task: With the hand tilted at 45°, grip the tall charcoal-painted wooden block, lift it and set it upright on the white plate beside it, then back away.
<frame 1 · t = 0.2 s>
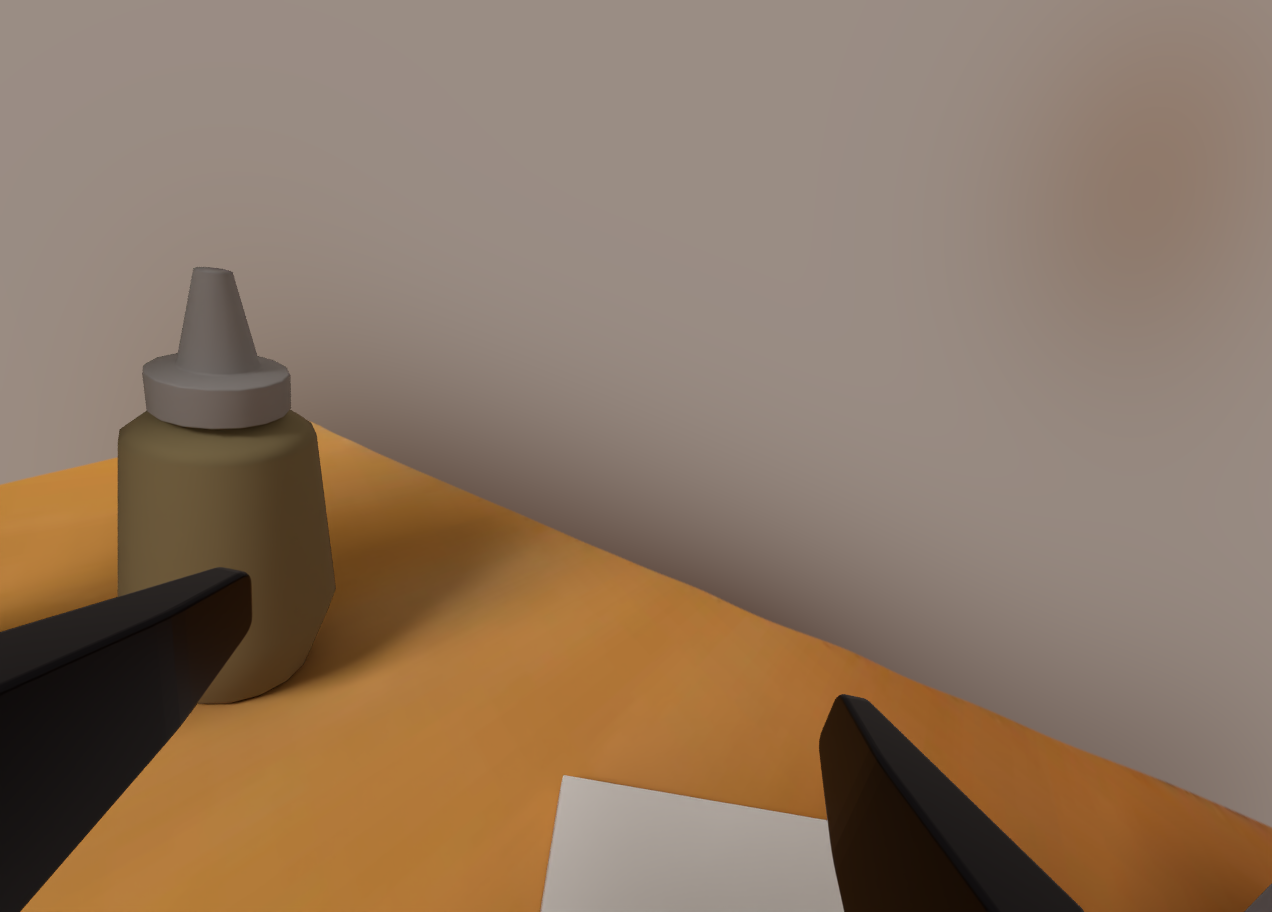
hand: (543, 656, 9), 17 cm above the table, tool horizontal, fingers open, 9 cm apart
squeeze bottle: (239, 662, 28), on the table
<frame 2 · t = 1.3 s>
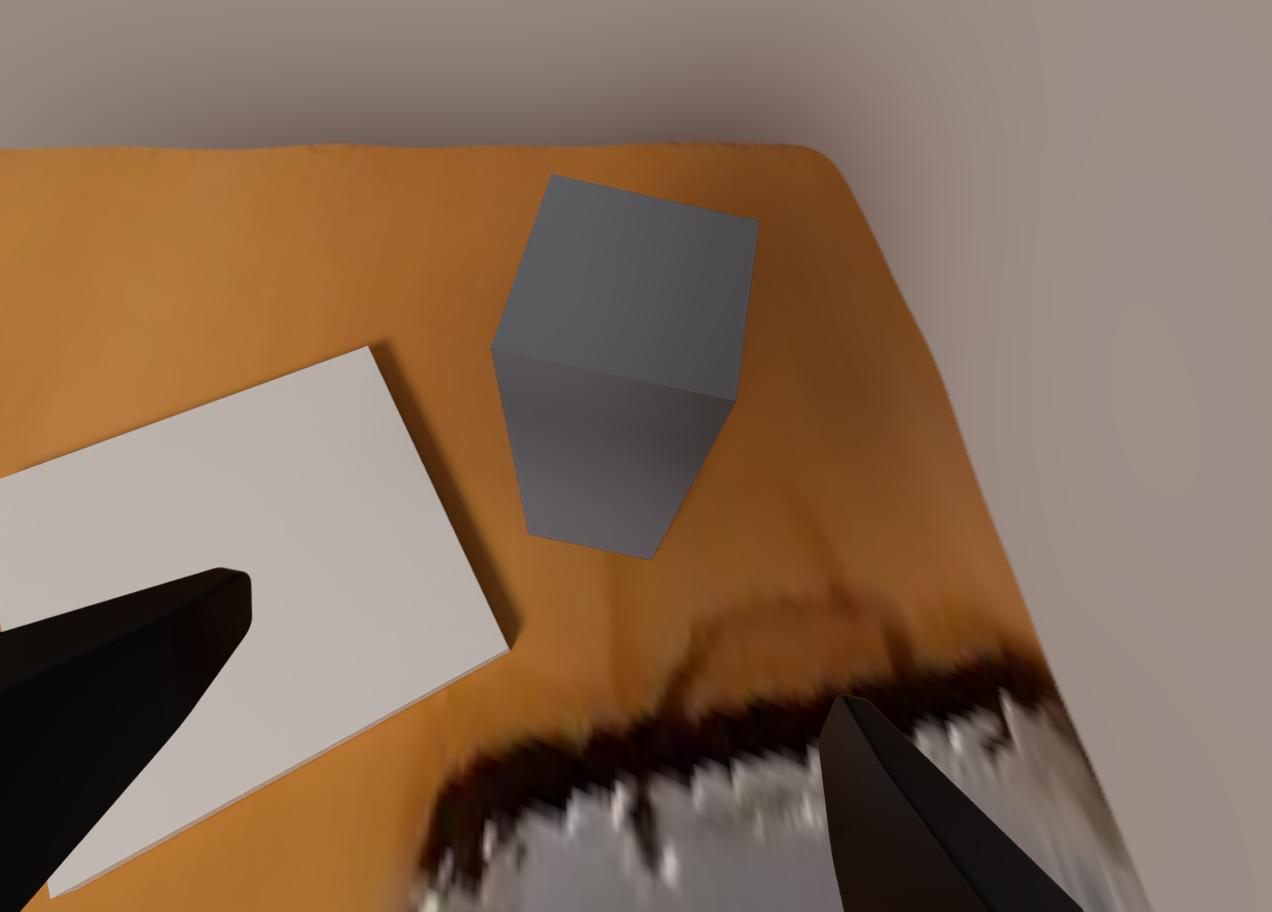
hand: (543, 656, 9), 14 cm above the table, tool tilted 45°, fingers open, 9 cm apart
white plate: (254, 573, 22), on the table
tall block: (602, 490, 25), on the table
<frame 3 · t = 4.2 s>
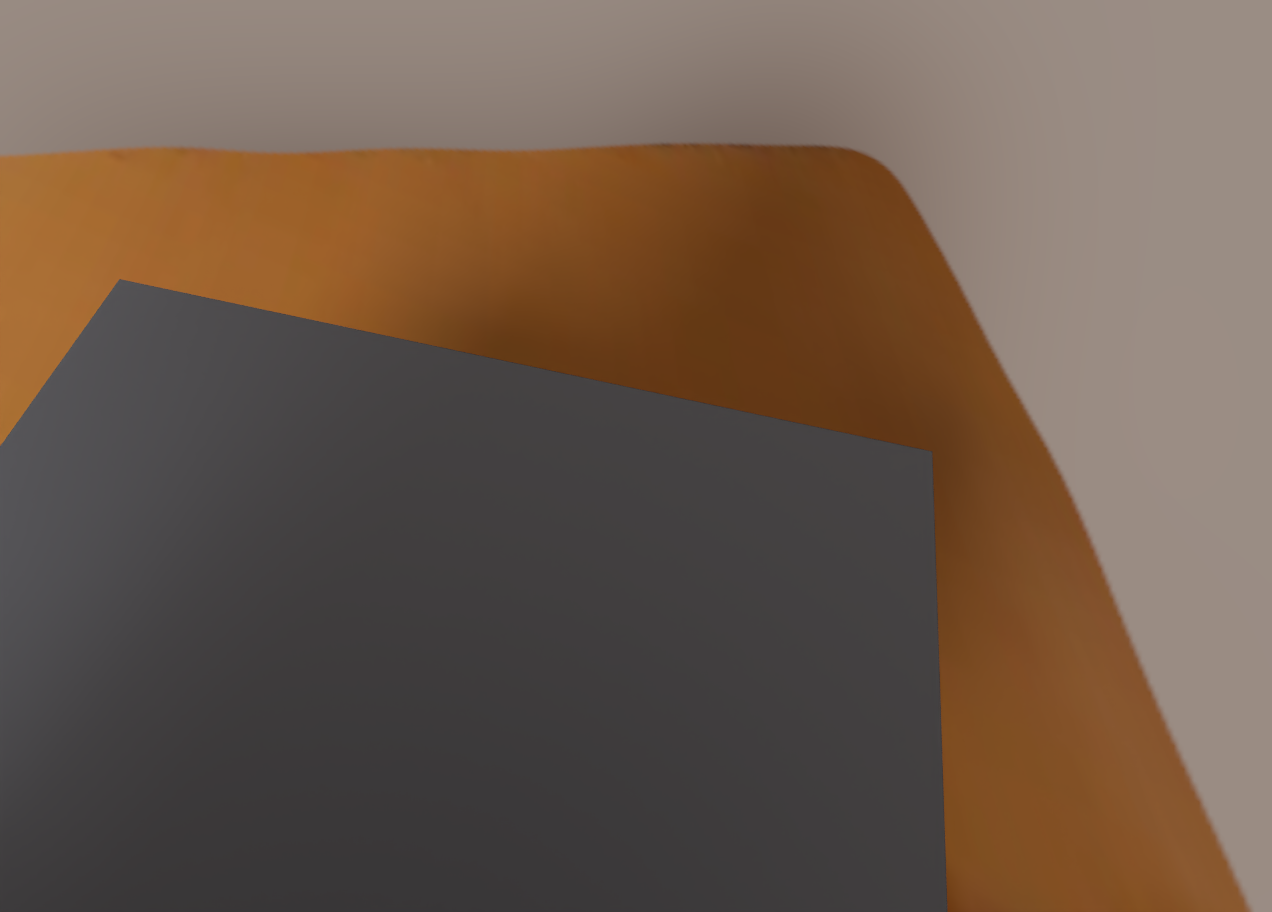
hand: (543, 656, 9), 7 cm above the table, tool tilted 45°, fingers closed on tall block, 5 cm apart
tall block: (537, 742, 14), on the table, touching gripper
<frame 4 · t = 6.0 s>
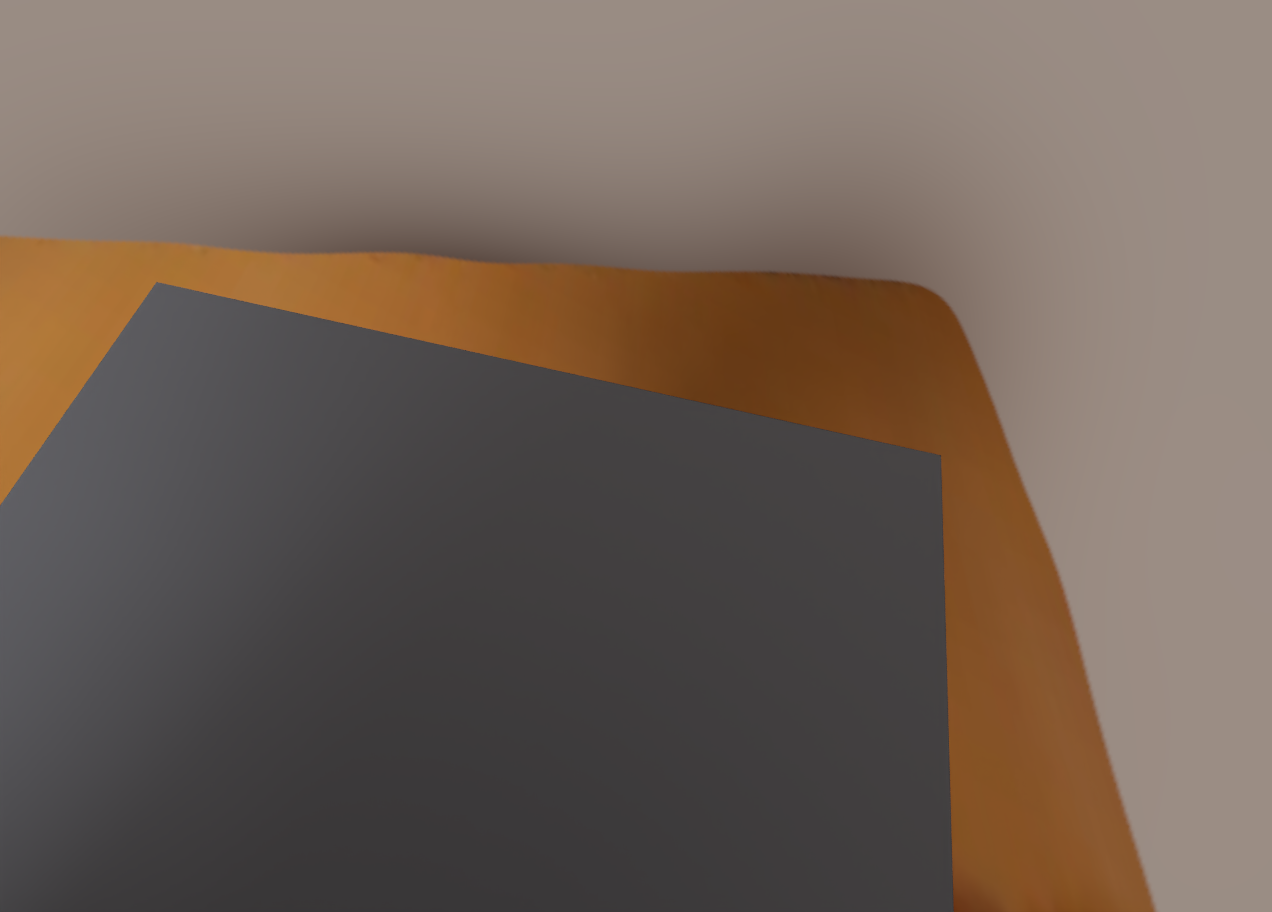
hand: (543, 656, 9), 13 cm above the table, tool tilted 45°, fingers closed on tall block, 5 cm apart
tall block: (543, 742, 14), point 7 cm above the table, touching gripper
when the fingers open (9 cm above the table, at t = 8.2 s): tall block drops 1 cm, resting on white plate.
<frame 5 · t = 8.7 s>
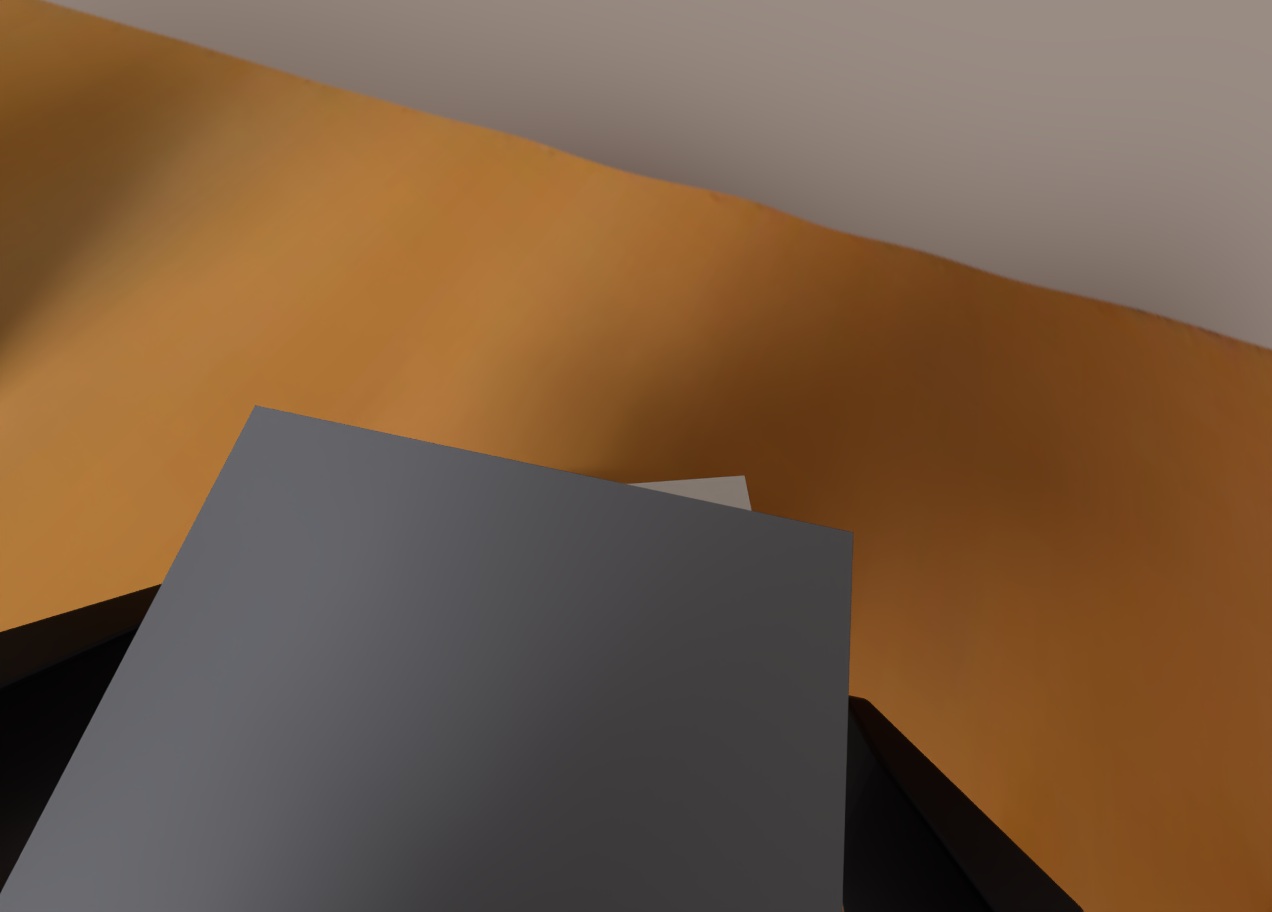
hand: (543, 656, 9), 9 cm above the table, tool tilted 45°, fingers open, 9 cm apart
white plate: (542, 737, 17), on the table
tall block: (541, 740, 16), point 1 cm above the table, touching white plate
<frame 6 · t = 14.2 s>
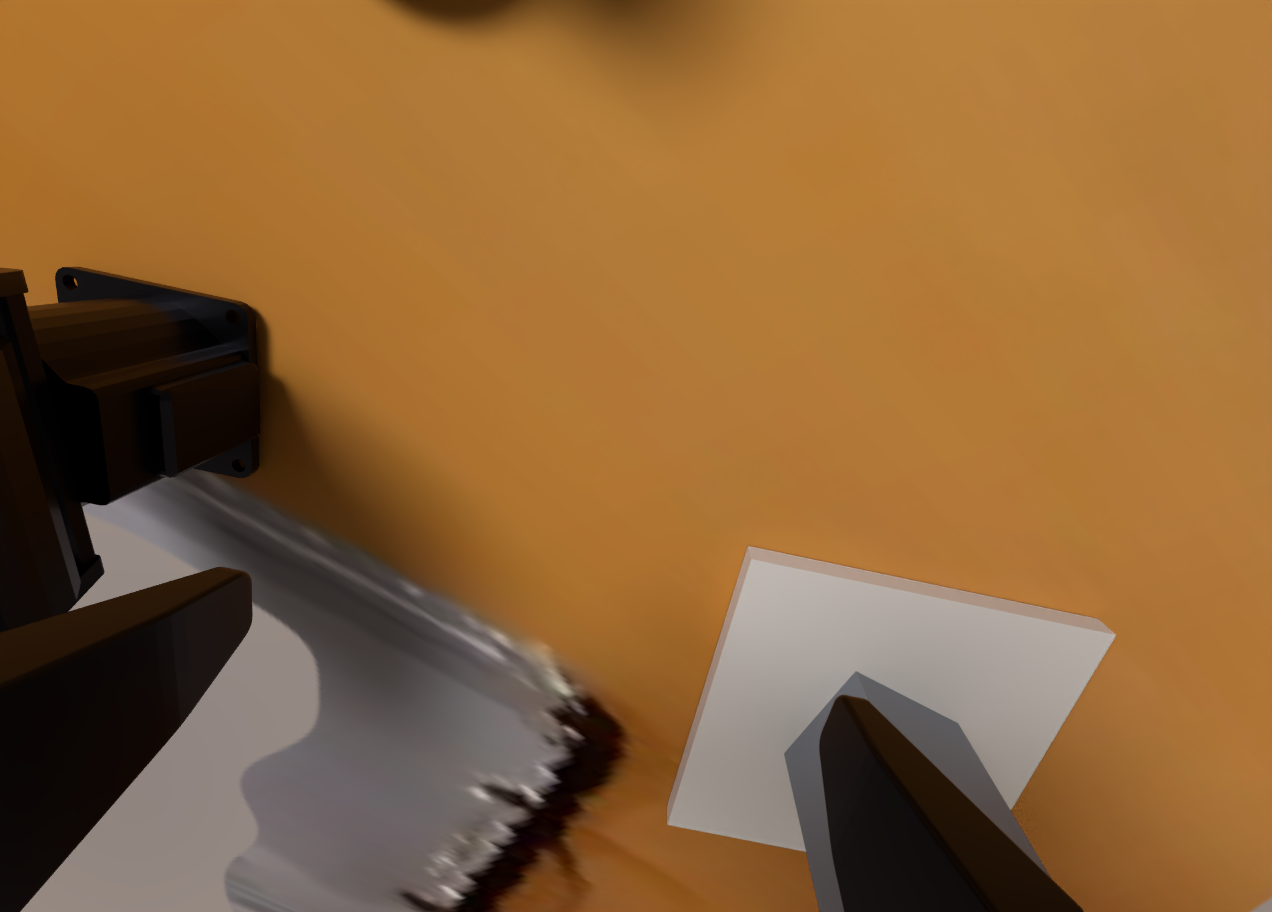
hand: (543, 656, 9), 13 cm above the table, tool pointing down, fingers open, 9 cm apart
white plate: (863, 720, 25), on the table
tall block: (869, 738, 24), point 1 cm above the table, touching white plate
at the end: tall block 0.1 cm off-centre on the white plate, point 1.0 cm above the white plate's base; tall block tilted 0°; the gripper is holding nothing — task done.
